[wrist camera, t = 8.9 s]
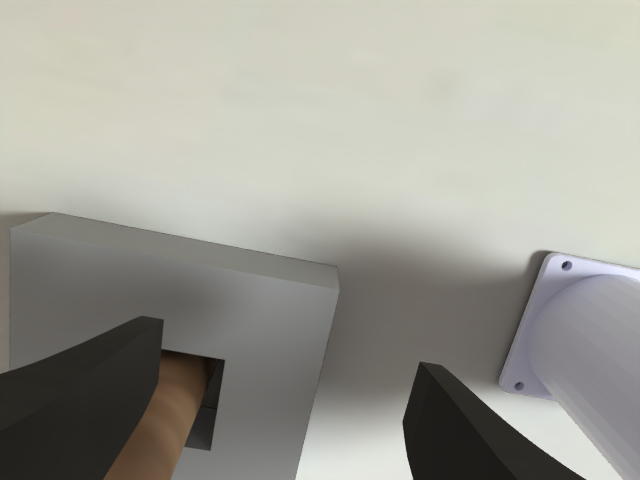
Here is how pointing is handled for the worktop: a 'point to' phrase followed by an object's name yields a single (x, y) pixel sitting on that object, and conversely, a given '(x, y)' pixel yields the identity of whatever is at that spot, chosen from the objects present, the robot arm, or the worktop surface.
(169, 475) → the dowel
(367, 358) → the worktop surface
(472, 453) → the robot arm
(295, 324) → the socket block
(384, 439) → the worktop surface
